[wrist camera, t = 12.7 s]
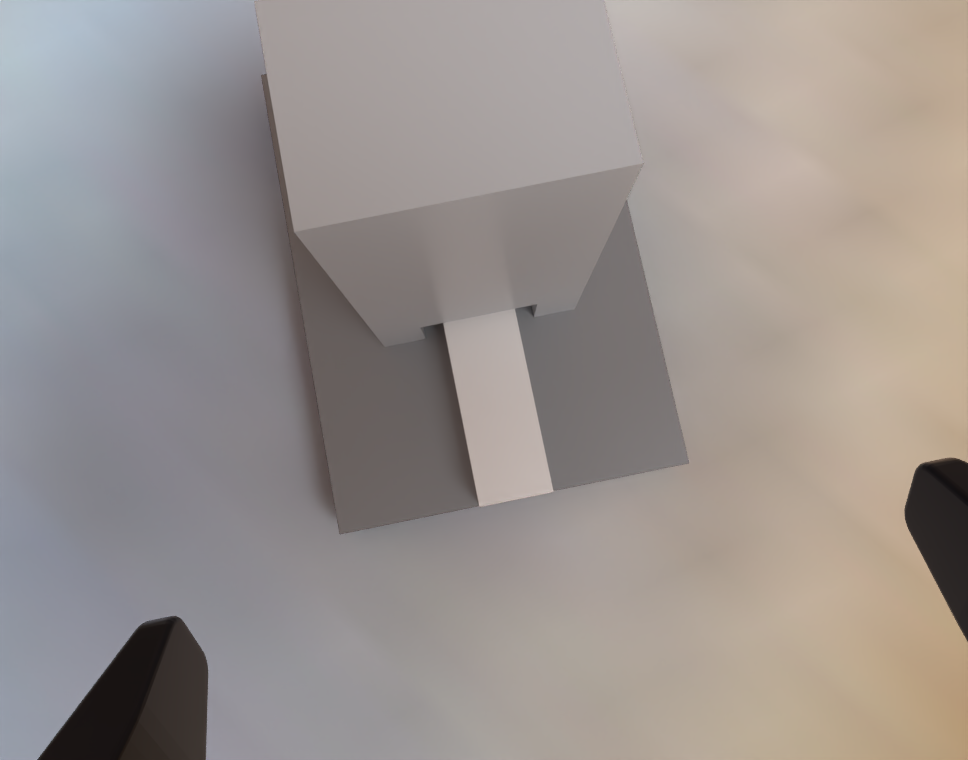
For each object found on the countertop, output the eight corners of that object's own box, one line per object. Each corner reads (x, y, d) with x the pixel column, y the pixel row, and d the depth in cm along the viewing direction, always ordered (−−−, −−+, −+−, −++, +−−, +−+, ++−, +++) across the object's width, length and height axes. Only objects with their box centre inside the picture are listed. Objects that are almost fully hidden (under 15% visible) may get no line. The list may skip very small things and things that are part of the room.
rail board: (676, 464, 23) (700, 461, 20) (349, 531, 22) (330, 537, 20) (576, 41, 24) (587, -13, 22) (275, 100, 24) (248, 52, 22)
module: (574, 308, 22) (643, 163, 12) (384, 347, 22) (294, 231, 12) (542, 165, 22) (582, -88, 12) (357, 202, 22) (249, -24, 12)
